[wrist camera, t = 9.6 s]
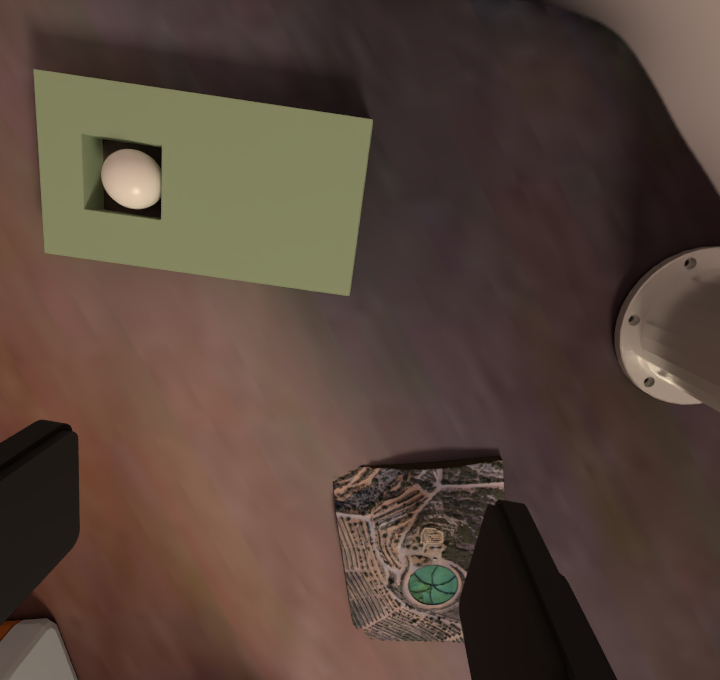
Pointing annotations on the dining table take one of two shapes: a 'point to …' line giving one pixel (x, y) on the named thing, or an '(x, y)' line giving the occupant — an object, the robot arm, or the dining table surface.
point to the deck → (205, 183)
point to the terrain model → (412, 543)
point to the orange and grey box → (33, 651)
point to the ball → (132, 178)
